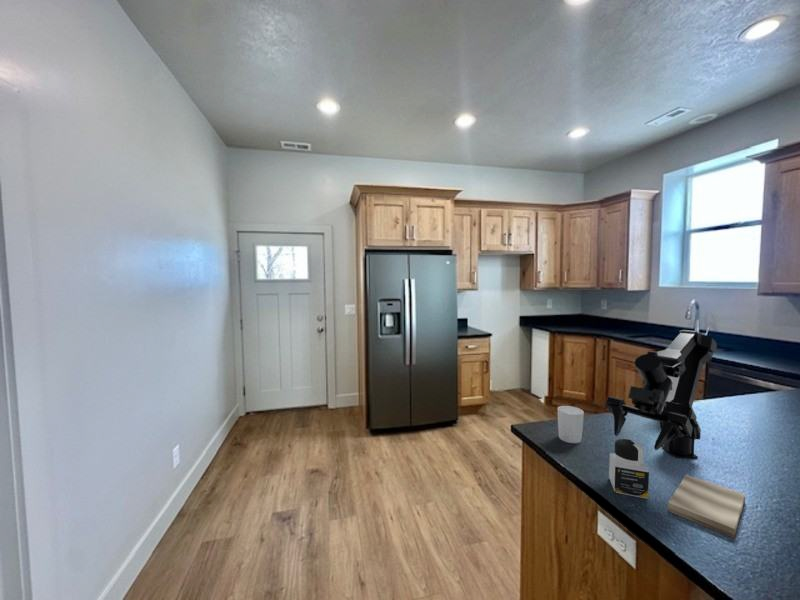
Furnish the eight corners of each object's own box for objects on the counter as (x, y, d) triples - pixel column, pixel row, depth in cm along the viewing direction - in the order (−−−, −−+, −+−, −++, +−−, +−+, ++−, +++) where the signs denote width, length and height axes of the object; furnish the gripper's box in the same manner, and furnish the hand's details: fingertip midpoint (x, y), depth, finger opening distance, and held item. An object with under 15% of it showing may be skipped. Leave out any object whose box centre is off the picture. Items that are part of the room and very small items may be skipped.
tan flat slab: (685, 481, 90) (686, 474, 89) (745, 502, 81) (745, 494, 81) (667, 511, 78) (668, 502, 78) (734, 538, 70) (734, 528, 70)
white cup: (586, 445, 110) (587, 415, 110) (560, 443, 112) (561, 413, 111) (578, 434, 118) (579, 406, 117) (554, 433, 119) (555, 405, 119)
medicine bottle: (614, 492, 85) (615, 446, 84) (608, 477, 92) (609, 434, 91) (648, 499, 82) (650, 451, 82) (640, 483, 89) (641, 438, 88)
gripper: (608, 368, 98) (587, 413, 93) (690, 384, 82) (669, 439, 77) (621, 390, 103) (601, 434, 97) (700, 409, 87) (682, 463, 81)
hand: (634, 441), depth 88 cm, fingers open, 9 cm apart
